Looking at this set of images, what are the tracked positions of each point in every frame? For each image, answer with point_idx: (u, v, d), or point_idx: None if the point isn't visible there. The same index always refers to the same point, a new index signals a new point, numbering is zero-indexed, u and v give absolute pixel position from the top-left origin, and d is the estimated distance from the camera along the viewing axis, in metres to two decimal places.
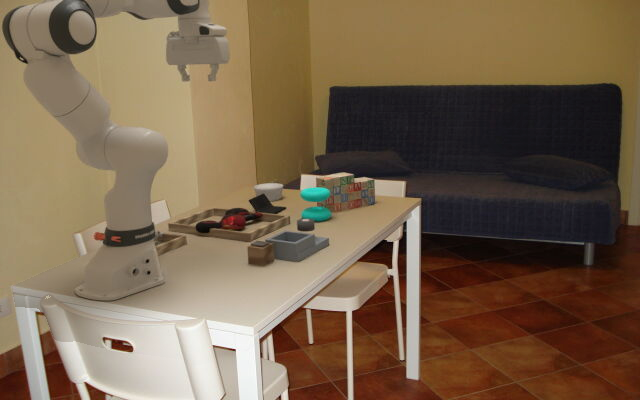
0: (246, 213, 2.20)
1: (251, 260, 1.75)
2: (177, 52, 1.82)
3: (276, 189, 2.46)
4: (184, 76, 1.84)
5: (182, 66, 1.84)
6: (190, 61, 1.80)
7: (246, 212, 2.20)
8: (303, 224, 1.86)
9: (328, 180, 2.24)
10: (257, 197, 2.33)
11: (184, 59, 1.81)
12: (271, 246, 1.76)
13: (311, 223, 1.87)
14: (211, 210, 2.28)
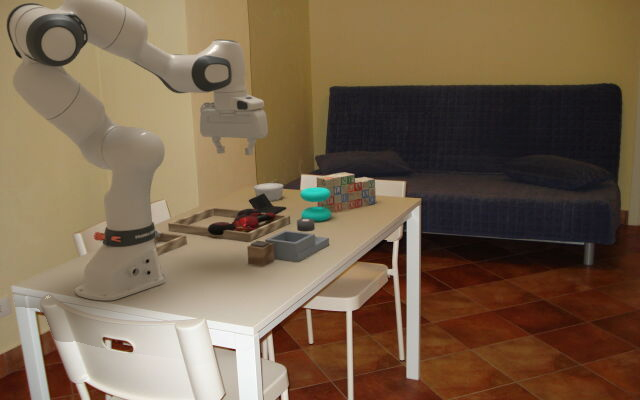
0: (258, 214, 2.17)
1: (251, 260, 1.75)
2: (212, 124, 1.76)
3: (276, 189, 2.46)
4: (219, 148, 1.78)
5: (217, 138, 1.78)
6: (226, 134, 1.75)
7: (258, 213, 2.17)
8: (303, 224, 1.86)
9: (328, 180, 2.24)
10: (257, 197, 2.33)
11: (220, 132, 1.75)
12: (271, 246, 1.76)
13: (311, 223, 1.87)
14: (211, 210, 2.28)
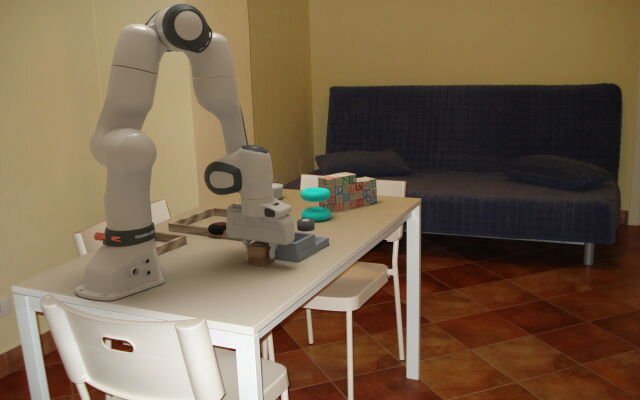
0: None
1: (251, 260, 1.75)
2: (239, 227, 1.76)
3: (276, 189, 2.46)
4: None
5: (248, 240, 1.77)
6: (253, 238, 1.74)
7: None
8: (303, 224, 1.86)
9: (330, 180, 2.25)
10: None
11: (246, 235, 1.75)
12: None
13: (311, 223, 1.87)
14: (211, 210, 2.28)
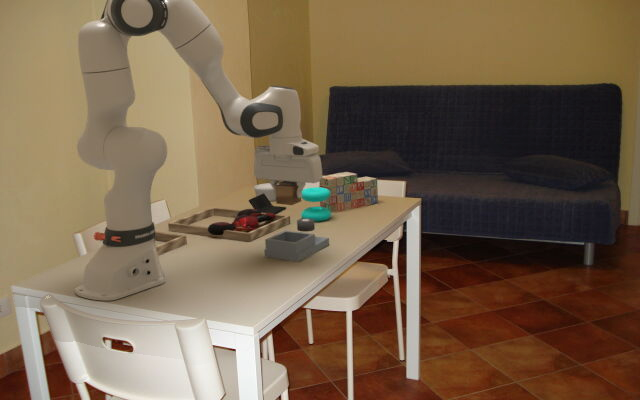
0: (258, 214, 2.17)
1: (279, 199, 1.78)
2: (266, 167, 1.79)
3: None
4: None
5: (275, 181, 1.80)
6: (280, 177, 1.77)
7: (258, 213, 2.17)
8: (303, 224, 1.86)
9: (331, 180, 2.25)
10: (257, 197, 2.33)
11: (274, 175, 1.78)
12: None
13: (311, 223, 1.87)
14: (211, 210, 2.28)
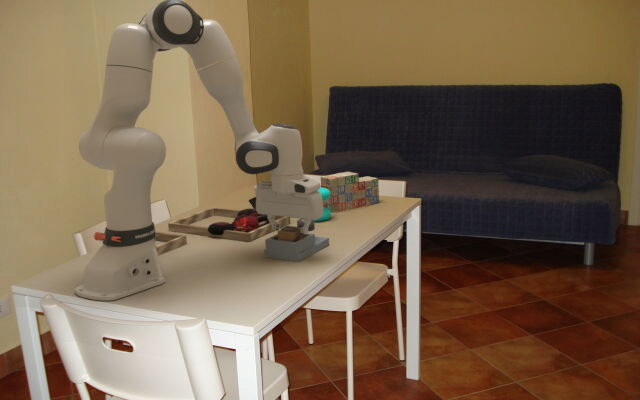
0: (258, 214, 2.17)
1: None
2: (268, 203, 1.81)
3: None
4: (274, 226, 1.83)
5: (272, 216, 1.83)
6: (282, 214, 1.79)
7: None
8: (303, 224, 1.86)
9: (332, 179, 2.25)
10: None
11: (276, 211, 1.80)
12: (300, 231, 1.82)
13: (311, 223, 1.87)
14: (211, 210, 2.28)
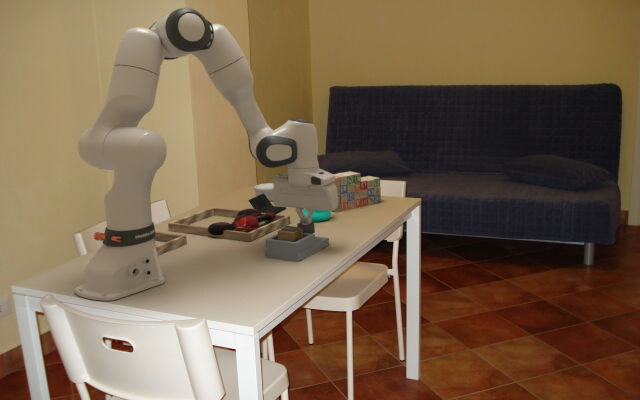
0: (258, 214, 2.17)
1: None
2: (285, 195, 1.88)
3: None
4: (302, 218, 1.88)
5: (300, 208, 1.88)
6: (298, 205, 1.87)
7: (258, 213, 2.17)
8: (303, 227, 1.87)
9: (335, 179, 2.26)
10: (257, 197, 2.33)
11: (292, 203, 1.87)
12: (300, 231, 1.82)
13: (311, 226, 1.87)
14: (211, 210, 2.28)
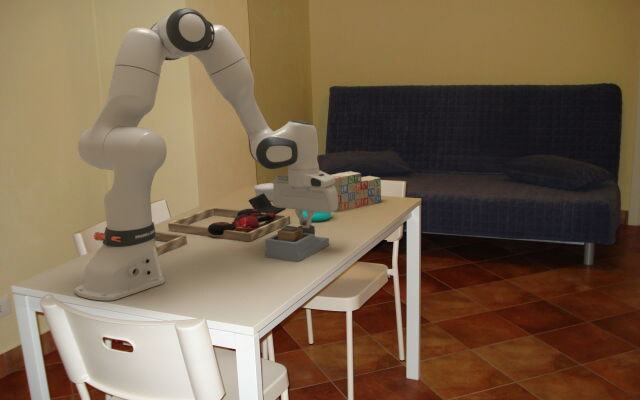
0: (258, 214, 2.17)
1: None
2: (285, 197, 1.88)
3: None
4: (302, 220, 1.88)
5: (300, 210, 1.88)
6: (298, 207, 1.86)
7: (258, 213, 2.17)
8: (303, 231, 1.87)
9: (335, 179, 2.26)
10: (257, 197, 2.33)
11: (292, 204, 1.87)
12: (300, 231, 1.82)
13: (311, 229, 1.87)
14: (211, 210, 2.28)
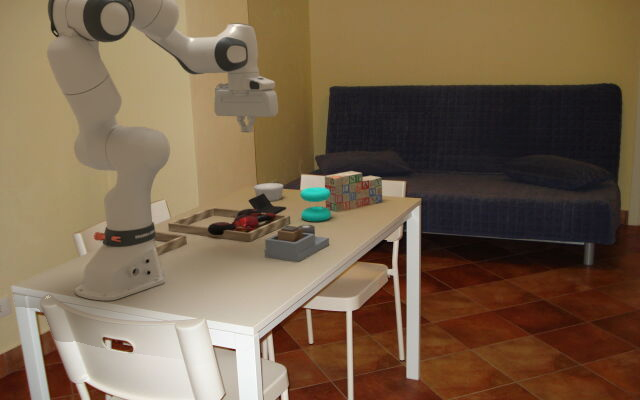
0: (258, 214, 2.17)
1: None
2: (226, 104, 1.87)
3: (276, 189, 2.46)
4: (243, 127, 1.86)
5: (241, 117, 1.86)
6: (239, 113, 1.85)
7: (258, 213, 2.17)
8: (303, 231, 1.87)
9: (337, 179, 2.26)
10: (257, 197, 2.33)
11: (233, 111, 1.86)
12: (300, 231, 1.82)
13: (311, 229, 1.87)
14: (211, 210, 2.28)
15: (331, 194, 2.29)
